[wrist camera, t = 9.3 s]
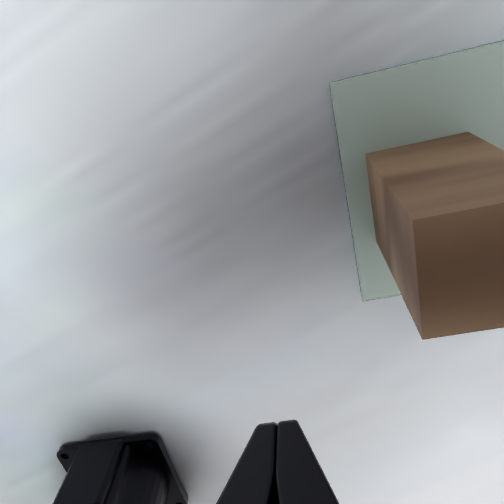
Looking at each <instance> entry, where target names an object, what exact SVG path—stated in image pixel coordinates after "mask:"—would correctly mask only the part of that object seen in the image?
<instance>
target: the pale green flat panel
mask: <svg viewBox="0 0 504 504" xmlns="http://www.w3.org/2000/svg"><path fill="white" fill-rule="evenodd" d="M329 84H330V90H331V97H332V103H333V110H334V117H335V123H336V130H337V136H338V143H339V150H340V156H341V163H342V169H343V176H344V183H345V189H346V196H347V202H348V209H349V216H350V222H351V229H352V235H353V242H354V249H355V255H356V262H357V268H358V275H359V281H360V288H361V295H362V299H363V301H368V300H374V299H380V298H386V297H392V296H398V295H401V293H400V291H399V289H398V286H397V284H396V282H395V280H394V278H393V276H392V274H391V272H390V269H389V267H388V265H387V263H386V261H385V259H384V257H383V255H382V252H381V250H380V248H379V246H378V244H377V242H376V236H375V228H374V220H373V212H372V204H371V196H370V188H369V180H368V172H367V164H366V156H365V154H366V153H371V152H376V151H380V150H385V149H390V148H394V147H399V146H404V145H408V144H413V143H418V142H422V141H427V140H432V139H436V138H441V137H446V136H450V135H455V134H460V133H464V132H470V133H472V134H474V135H475V136H477V137H479V138H481V139H483V140H485V141H487V142H489V143H490V144H492V145H494V146H496V147H498V148H500V149H502V150H504V41H500V42H496V43H492V44H487V45H483V46H479V47H475V48H471V49H467V50H463V51H459V52H454V53H450V54H446V55H442V56H438V57H434V58H430V59H426V60H422V61H417V62H413V63H409V64H405V65H401V66H397V67H393V68H389V69H384V70H380V71H376V72H372V73H368V74H364V75H360V76H356V77H351V78H347V79H343V80H339V81H335V82H331V83H329Z"/></svg>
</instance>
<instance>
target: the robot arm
mask: <svg viewBox="0 0 504 504" xmlns="http://www.w3.org/2000/svg"><path fill="white" fill-rule="evenodd" d="M57 457H58V459H59V461H60V462H61V464H62V465H63V467H64V469H65V470H66V472H67V474H66V476H65V479H64V481H63V483H62V485H61V487H60V489H59V491H58V493H57V495H56V498H55V500H54V502H53V504H187V503H188V498H187V495H186V493H185V491H184V489H183V487H182V485H181V482H180V480H179V478H178V476H177V474H176V472H175V469H174V467H173V465H172V463H171V461H170V458H169V456H168V454H167V452H166V450H165V448H164V445H163V443H162V441H161V439H160V437H159V436H157V435H155V434H144V435H136V436H129V437H121V438H114V439H106V440H99V441H91V442H84V443H76V444H69V445H63V446H61V447H60V449H59V451H58V453H57ZM216 504H339V502H338V500H337V498H336V496H335V494H334V492H333V490H332V488H331V486H330V484H329V482H328V480H327V478H326V476H325V474H324V472H323V470H322V468H321V467H320V465H319V463H318V461H317V459H316V457H315V455H314V453H313V451H312V449H311V447H310V445H309V443H308V441H307V439H306V437H305V435H304V433H303V431H302V429H301V427H300V425H299V423H298V421H296V420H288V421H281V422H279V423H278V425H277V423H275V422H272V423H264V424H259V425H258V426H257V427H256V428H255V430H254V432H253V434H252V436H251V438H250V440H249V442H248V444H247V446H246V448H245V449H244V451H243V453H242V455H241V457H240V459H239V461H238V463H237V465H236V467H235V469H234V471H233V472H232V474H231V476H230V478H229V480H228V482H227V484H226V486H225V488H224V490H223V492H222V493H221V495H220V497H219V499H218V501H217V503H216Z"/></svg>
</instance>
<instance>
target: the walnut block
mask: <svg viewBox="0 0 504 504" xmlns="http://www.w3.org/2000/svg"><path fill="white" fill-rule="evenodd" d="M365 156H366V164H367V172H368V180H369V188H370V196H371V204H372V212H373V220H374V228H375V236H376V242H377V244H378V246H379V248H380V250H381V252H382V255H383V257H384V259H385V261H386V263H387V265H388V267H389V269H390V272H391V274H392V276H393V278H394V280H395V282H396V284H397V286H398V289H399V291H400V293H401V295H402V297H403V299H404V301H405V303H406V306H407V308H408V310H409V312H410V314H411V316H412V318H413V320H414V323H415V325H416V327H417V329H418V331H419V333H420V335H421V337H422V339H430V338H436V337H443V336H450V335H456V334H463V333H469V332H476V331H483V330H489V329H496V328H503V327H504V150H502V149H500V148H498V147H496V146H494V145H492V144H490V143H489V142H487V141H485V140H483V139H481V138H479V137H477V136H475V135H474V134H472V133H470V132H464V133H460V134H455V135H450V136H446V137H441V138H436V139H432V140H427V141H422V142H418V143H413V144H408V145H404V146H399V147H394V148H390V149H385V150H380V151H376V152H371V153H366V154H365Z"/></svg>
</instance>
